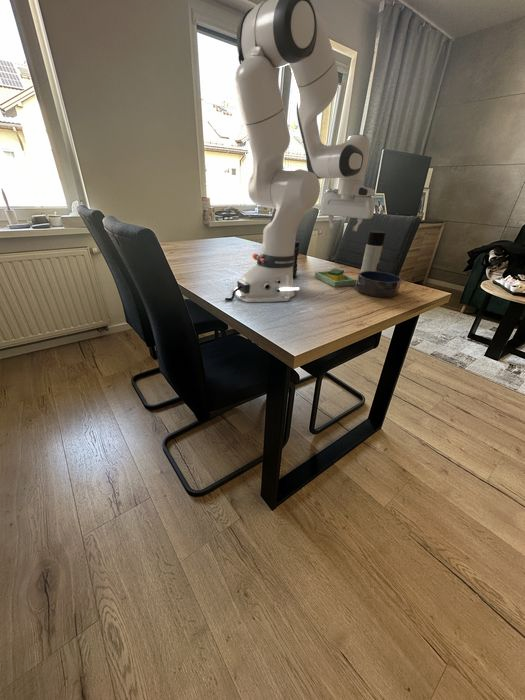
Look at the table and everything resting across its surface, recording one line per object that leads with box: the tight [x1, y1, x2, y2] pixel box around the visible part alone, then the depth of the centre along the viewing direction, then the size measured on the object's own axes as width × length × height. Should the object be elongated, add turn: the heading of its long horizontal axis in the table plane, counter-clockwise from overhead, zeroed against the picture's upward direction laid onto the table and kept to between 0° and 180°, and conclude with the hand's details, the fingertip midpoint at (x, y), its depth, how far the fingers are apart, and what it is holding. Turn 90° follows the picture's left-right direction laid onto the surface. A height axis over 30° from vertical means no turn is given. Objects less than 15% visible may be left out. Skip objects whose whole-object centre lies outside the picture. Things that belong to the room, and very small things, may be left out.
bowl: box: [355, 270, 403, 299], centre depth 110 cm, size 16×16×6 cm
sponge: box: [327, 268, 345, 281], centre depth 121 cm, size 7×5×4 cm, turn 146°
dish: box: [314, 270, 357, 288], centre depth 122 cm, size 11×15×2 cm
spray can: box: [360, 230, 387, 272], centre depth 121 cm, size 7×7×20 cm
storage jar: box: [293, 239, 300, 280], centre depth 122 cm, size 10×10×15 cm
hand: (343, 229), depth 112 cm, fingers open, 8 cm apart
